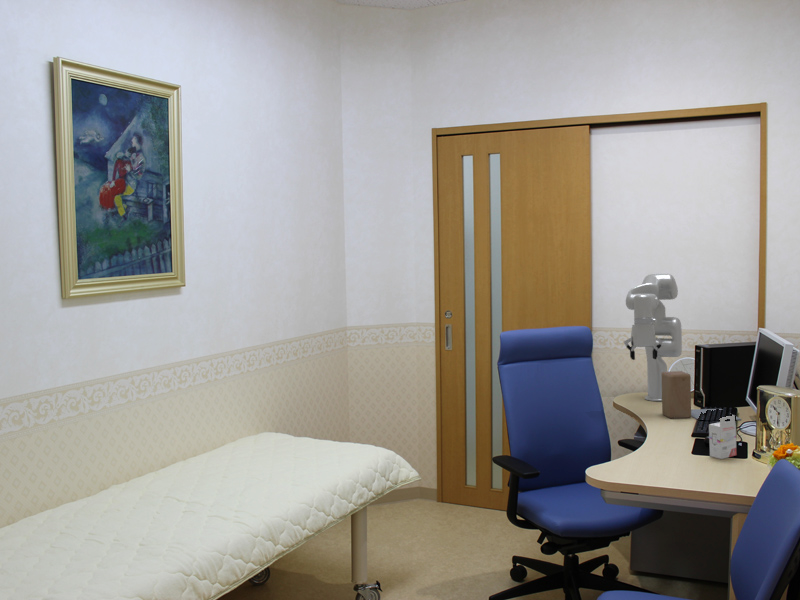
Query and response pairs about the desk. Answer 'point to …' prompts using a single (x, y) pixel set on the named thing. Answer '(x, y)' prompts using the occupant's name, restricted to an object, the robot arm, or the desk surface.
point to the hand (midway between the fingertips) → (643, 359)
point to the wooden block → (676, 394)
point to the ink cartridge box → (723, 438)
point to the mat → (696, 412)
